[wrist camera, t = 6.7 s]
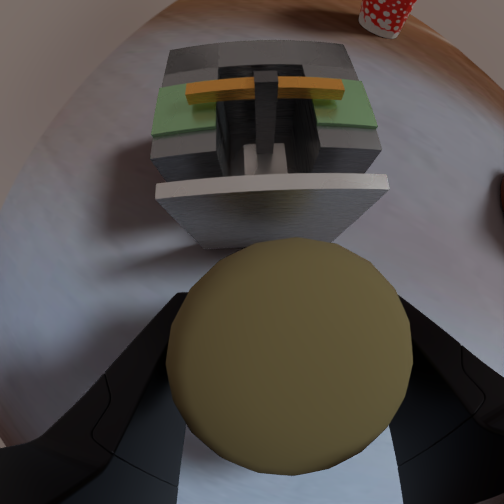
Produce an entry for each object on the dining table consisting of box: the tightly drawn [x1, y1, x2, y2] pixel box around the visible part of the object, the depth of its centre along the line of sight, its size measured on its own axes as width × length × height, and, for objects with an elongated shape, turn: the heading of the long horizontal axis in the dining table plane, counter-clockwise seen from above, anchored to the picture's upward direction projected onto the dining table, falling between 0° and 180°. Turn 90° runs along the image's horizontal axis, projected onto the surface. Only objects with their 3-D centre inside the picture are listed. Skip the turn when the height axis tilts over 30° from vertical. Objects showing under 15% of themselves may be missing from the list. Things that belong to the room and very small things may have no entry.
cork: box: [166, 237, 413, 476], centre depth 9 cm, size 6×6×11 cm
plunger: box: [155, 71, 390, 249], centre depth 12 cm, size 4×7×8 cm, turn 93°
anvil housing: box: [150, 40, 382, 182], centre depth 13 cm, size 6×10×7 cm, turn 93°
